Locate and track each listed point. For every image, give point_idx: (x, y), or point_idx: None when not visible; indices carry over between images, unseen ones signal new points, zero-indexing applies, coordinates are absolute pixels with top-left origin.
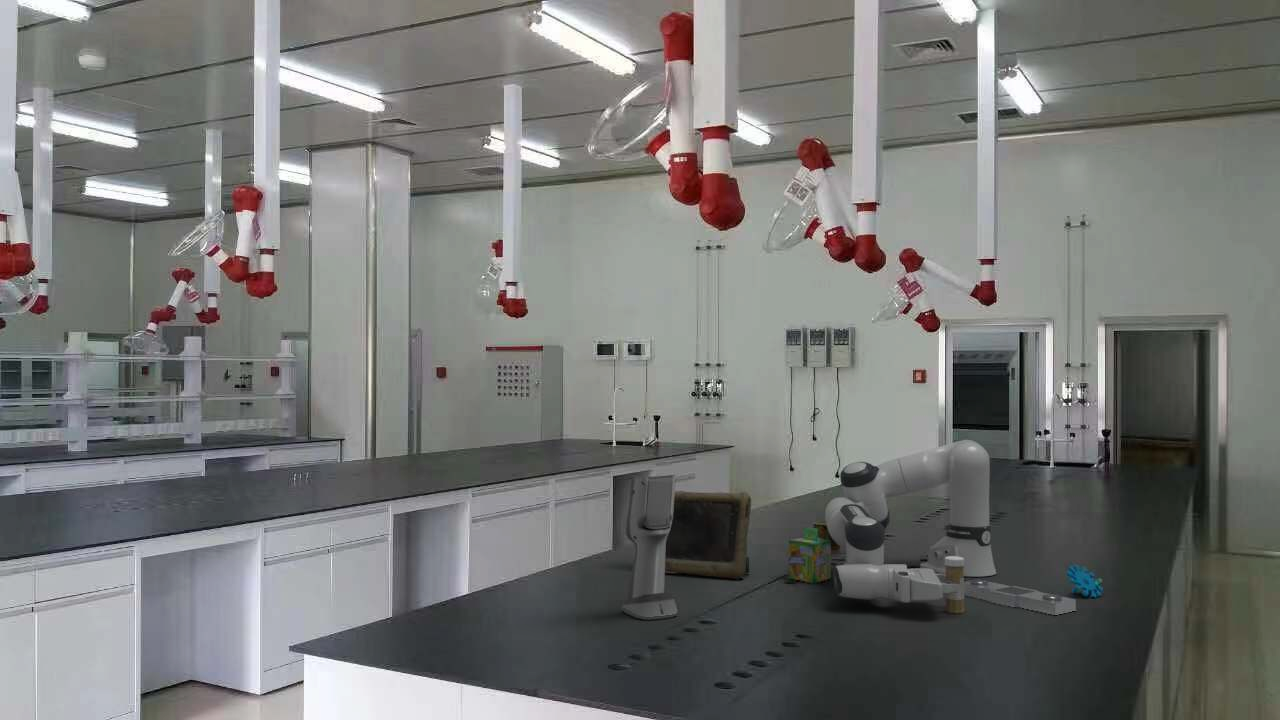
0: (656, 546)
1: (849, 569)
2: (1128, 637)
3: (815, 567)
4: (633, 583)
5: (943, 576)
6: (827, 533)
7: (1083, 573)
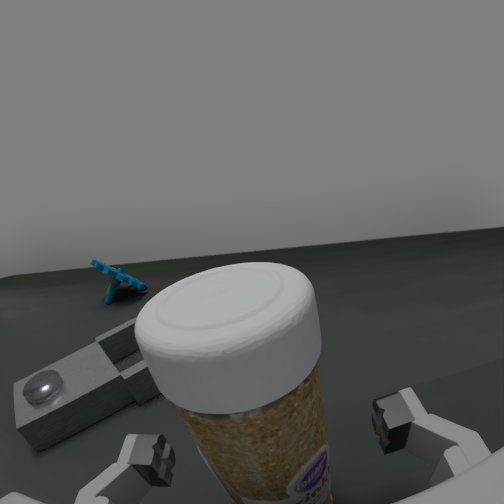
0: None
1: None
2: (388, 244)
3: None
4: None
5: (117, 483)
6: None
7: (107, 266)
